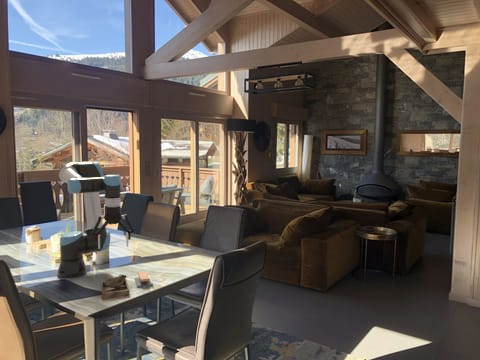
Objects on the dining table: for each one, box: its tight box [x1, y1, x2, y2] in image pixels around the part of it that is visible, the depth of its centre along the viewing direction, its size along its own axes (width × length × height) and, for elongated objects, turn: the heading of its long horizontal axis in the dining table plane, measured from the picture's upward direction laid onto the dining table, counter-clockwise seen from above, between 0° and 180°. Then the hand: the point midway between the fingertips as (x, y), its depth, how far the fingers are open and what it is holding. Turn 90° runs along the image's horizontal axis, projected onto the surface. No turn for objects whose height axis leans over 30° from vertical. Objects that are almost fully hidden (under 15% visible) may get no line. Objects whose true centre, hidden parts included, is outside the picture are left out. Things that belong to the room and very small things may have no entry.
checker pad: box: [137, 271, 149, 282], centre depth 201 cm, size 4×11×1 cm, turn 22°
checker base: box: [134, 274, 154, 289], centre depth 201 cm, size 8×12×3 cm, turn 22°
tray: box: [100, 278, 130, 300], centre depth 189 cm, size 13×16×3 cm
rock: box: [104, 274, 128, 289], centre depth 191 cm, size 11×6×10 cm
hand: (113, 247), depth 191 cm, fingers open, 13 cm apart
